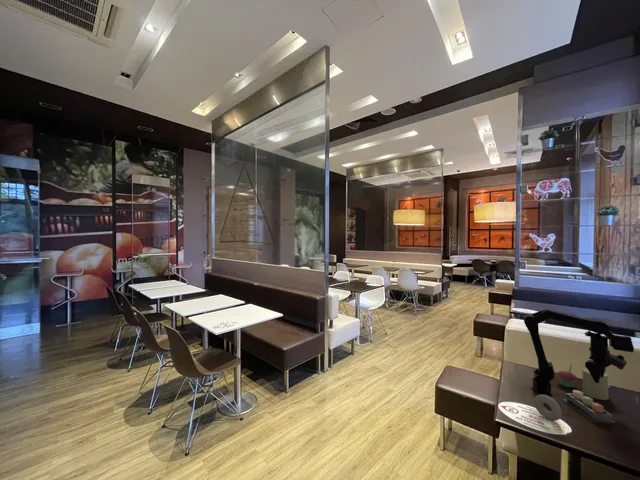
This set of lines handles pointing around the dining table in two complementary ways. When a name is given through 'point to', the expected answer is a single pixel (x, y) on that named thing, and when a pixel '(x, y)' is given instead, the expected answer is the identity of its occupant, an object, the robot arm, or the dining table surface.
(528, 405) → the dining table surface
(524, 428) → the dining table surface
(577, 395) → the white egg
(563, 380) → the cupcake
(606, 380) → the can
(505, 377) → the dining table surface
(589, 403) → the green rounded piece
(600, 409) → the brown egg
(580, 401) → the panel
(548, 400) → the donut
